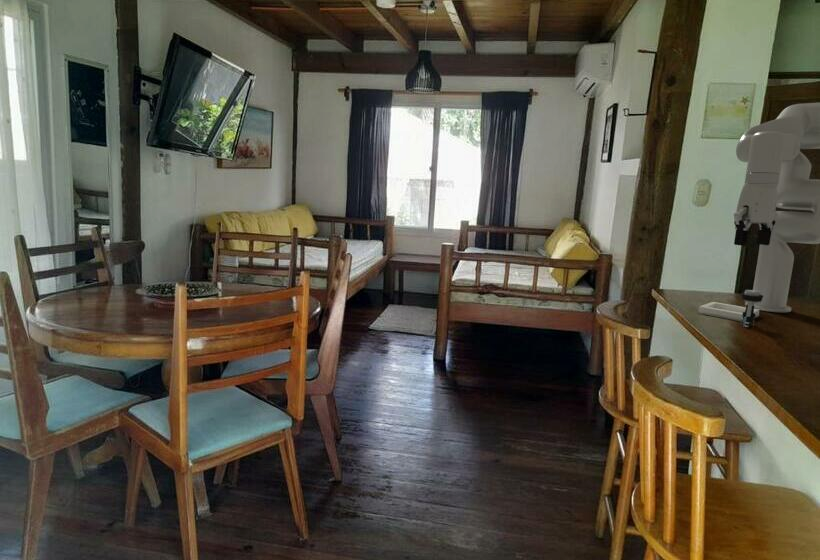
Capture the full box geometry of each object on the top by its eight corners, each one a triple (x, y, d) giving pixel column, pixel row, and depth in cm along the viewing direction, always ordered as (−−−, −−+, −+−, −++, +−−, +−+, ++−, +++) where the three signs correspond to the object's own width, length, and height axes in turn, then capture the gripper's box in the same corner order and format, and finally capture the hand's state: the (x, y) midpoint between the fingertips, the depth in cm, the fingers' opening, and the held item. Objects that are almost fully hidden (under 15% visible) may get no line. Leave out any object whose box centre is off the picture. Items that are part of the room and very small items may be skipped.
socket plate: (712, 308, 170) (712, 301, 169) (758, 316, 160) (759, 309, 160) (698, 313, 161) (699, 306, 161) (746, 322, 152) (747, 315, 152)
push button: (757, 330, 144) (762, 294, 142) (734, 326, 147) (739, 291, 145) (759, 325, 149) (764, 291, 147) (737, 322, 152) (742, 288, 150)
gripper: (766, 181, 145) (757, 242, 149) (727, 179, 138) (717, 243, 141) (796, 181, 139) (785, 246, 142) (756, 179, 131) (745, 247, 134)
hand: (751, 244), depth 141 cm, fingers open, 9 cm apart
